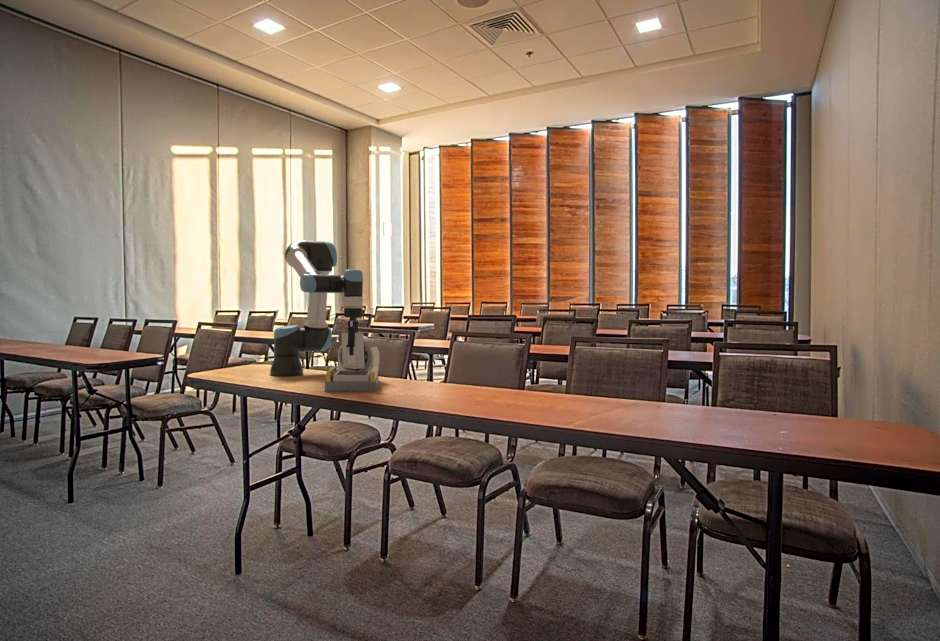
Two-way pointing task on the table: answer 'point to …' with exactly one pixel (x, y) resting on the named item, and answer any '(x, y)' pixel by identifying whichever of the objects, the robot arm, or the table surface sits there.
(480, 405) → the table surface
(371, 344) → the alarm clock
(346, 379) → the grey display stand
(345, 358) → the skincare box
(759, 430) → the table surface
